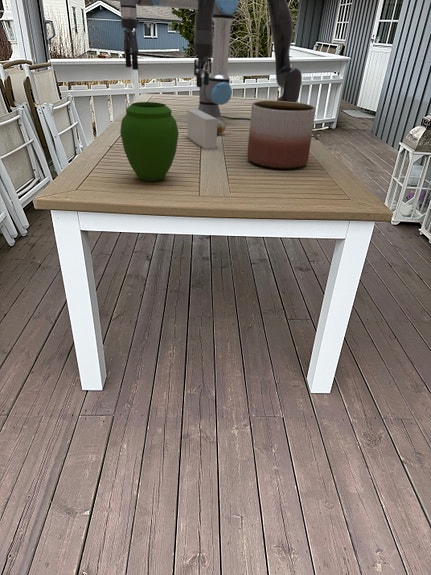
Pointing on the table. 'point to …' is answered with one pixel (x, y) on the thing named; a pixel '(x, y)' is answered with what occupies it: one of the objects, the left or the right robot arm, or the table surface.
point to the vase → (149, 139)
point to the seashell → (220, 126)
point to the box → (202, 129)
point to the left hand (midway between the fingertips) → (131, 68)
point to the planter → (280, 134)
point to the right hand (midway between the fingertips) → (202, 86)
